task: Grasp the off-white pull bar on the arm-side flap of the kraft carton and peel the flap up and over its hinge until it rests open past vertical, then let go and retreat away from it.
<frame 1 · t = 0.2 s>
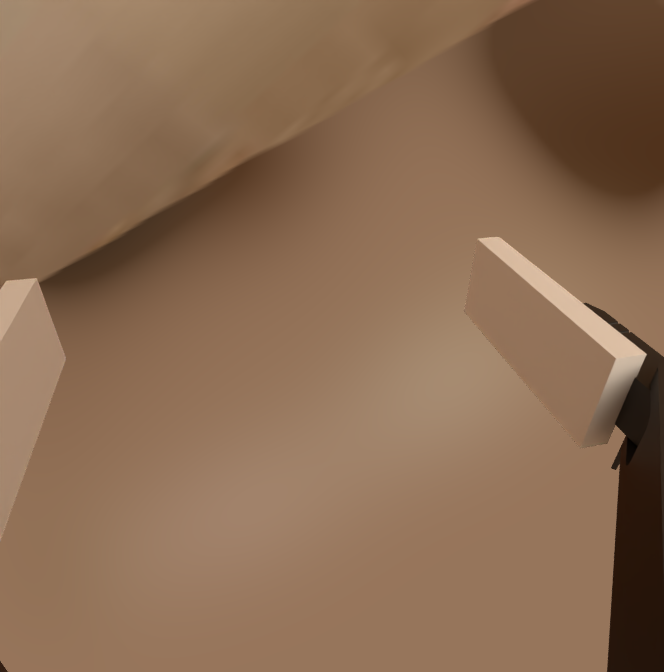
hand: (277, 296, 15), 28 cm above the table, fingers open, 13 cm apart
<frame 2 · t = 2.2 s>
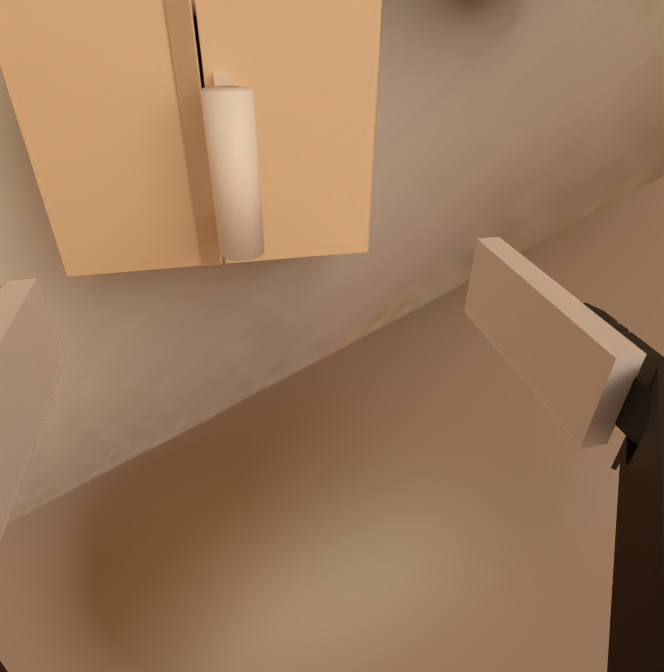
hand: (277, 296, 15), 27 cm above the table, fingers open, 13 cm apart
carton: (209, 119, 37), on the table
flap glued: (30, 154, 28), resting on carton
flap: (302, 159, 28), point 12 cm above the table, hinge at 0.0°
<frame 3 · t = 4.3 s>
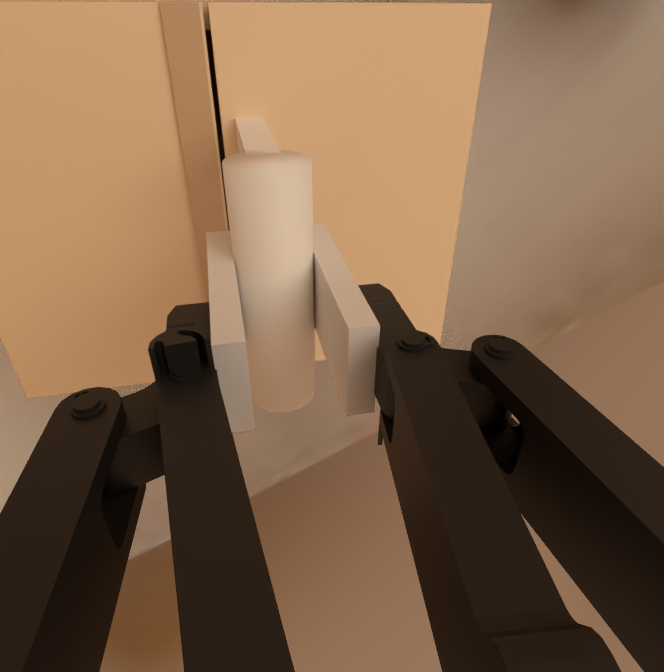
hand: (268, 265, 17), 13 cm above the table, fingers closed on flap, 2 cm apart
carton: (223, 165, 27), on the table
flap: (370, 245, 19), point 12 cm above the table, hinge at 0.0°, touching gripper
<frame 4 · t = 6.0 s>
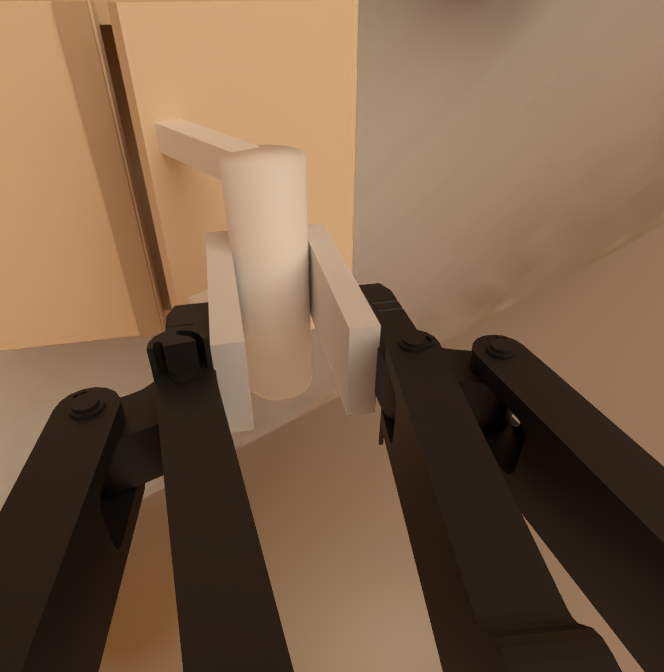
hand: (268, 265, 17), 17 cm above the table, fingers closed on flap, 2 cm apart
carton: (155, 148, 30), on the table
flap: (313, 227, 20), point 14 cm above the table, hinge at 28.5°, touching gripper
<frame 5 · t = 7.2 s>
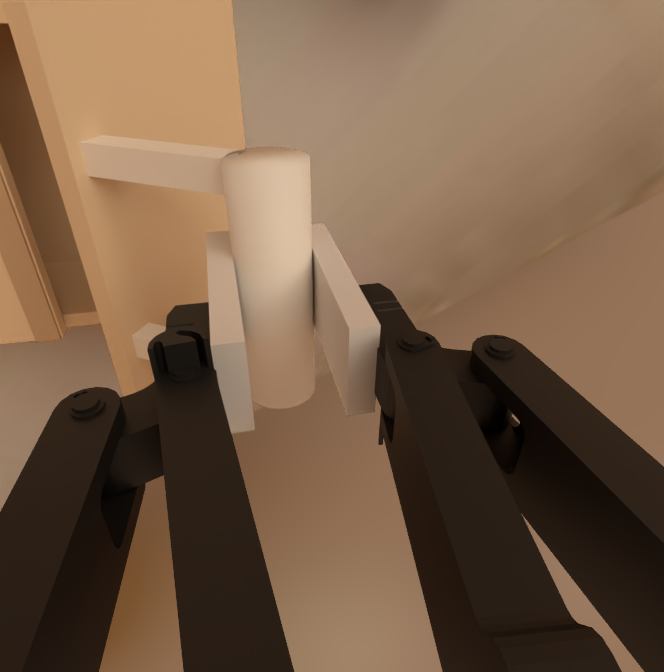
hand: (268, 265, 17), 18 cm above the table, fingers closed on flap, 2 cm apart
carton: (62, 150, 30), on the table
flap: (256, 230, 20), point 15 cm above the table, hinge at 56.3°, touching gripper
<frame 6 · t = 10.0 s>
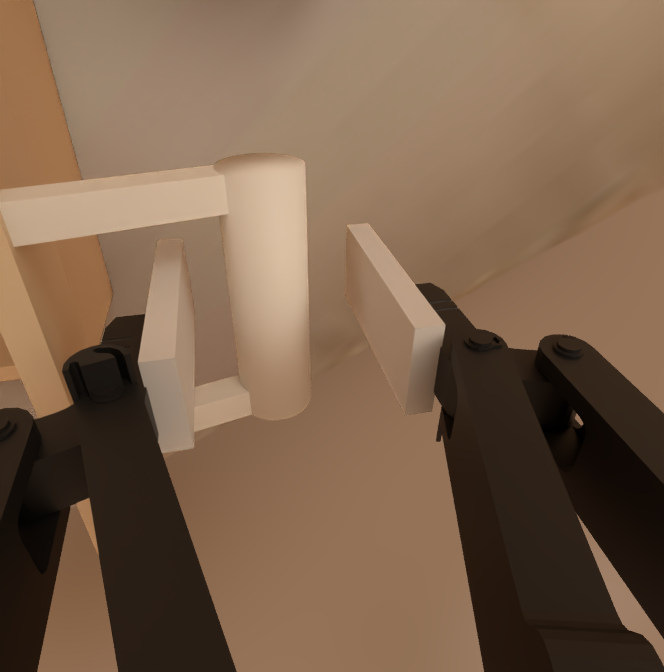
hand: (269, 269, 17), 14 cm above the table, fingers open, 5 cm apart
flap: (154, 263, 17), point 13 cm above the table, hinge at 103.0°
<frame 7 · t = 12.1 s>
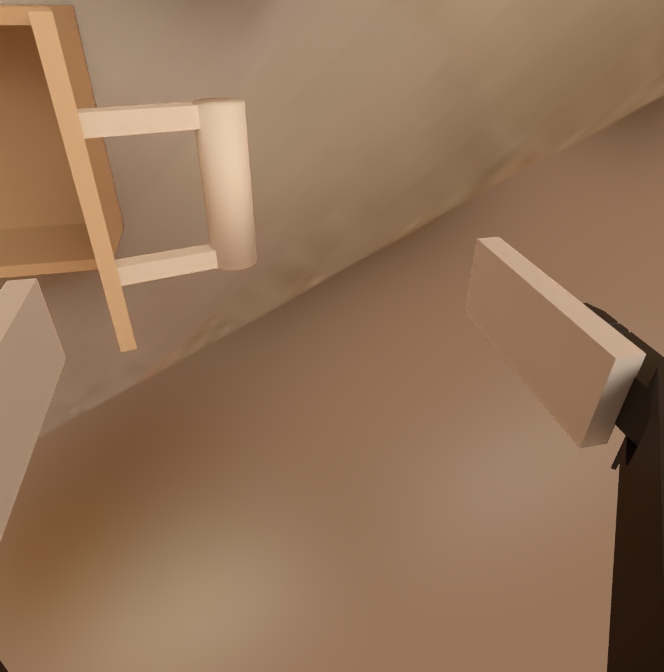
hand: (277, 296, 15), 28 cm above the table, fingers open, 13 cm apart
flap: (157, 174, 27), point 13 cm above the table, hinge at 103.0°
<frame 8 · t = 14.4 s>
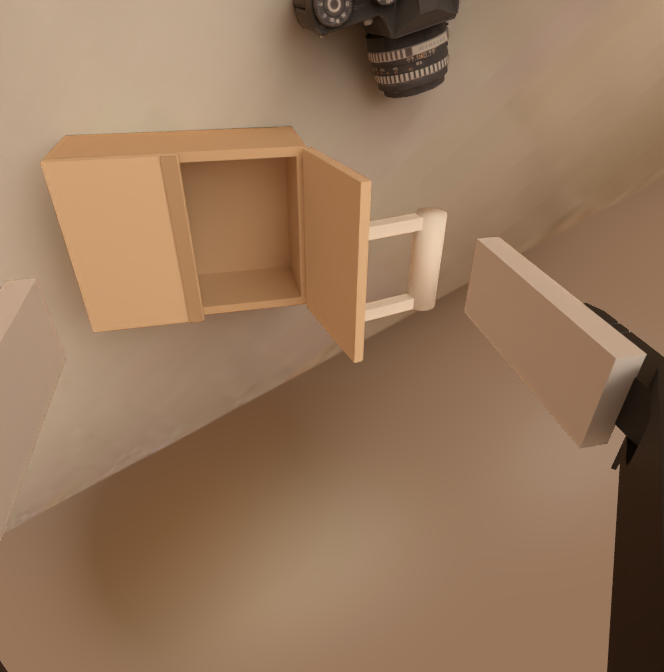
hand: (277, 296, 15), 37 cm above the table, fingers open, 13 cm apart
carton: (195, 210, 50), on the table
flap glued: (70, 254, 41), resting on carton
flap: (371, 248, 43), point 13 cm above the table, hinge at 103.0°
camera: (378, 21, 45), on the table
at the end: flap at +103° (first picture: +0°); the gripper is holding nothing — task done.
